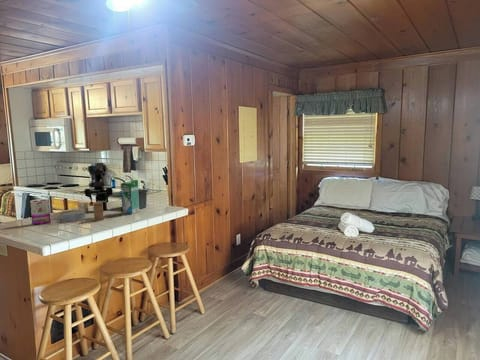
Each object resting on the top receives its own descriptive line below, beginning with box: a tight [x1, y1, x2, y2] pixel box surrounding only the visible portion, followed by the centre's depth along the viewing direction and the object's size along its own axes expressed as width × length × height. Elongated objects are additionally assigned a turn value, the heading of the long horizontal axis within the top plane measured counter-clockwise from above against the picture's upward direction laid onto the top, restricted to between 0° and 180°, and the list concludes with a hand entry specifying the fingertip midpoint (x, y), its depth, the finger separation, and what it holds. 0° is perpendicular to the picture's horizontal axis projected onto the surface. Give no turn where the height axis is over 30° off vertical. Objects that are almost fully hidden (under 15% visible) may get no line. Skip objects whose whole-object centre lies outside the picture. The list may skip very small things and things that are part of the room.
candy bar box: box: [29, 198, 52, 226], centre depth 240 cm, size 11×5×16 cm, turn 117°
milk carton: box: [120, 179, 140, 215], centre depth 269 cm, size 9×9×25 cm
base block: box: [60, 211, 87, 222], centre depth 252 cm, size 11×11×4 cm
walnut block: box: [93, 201, 105, 222], centre depth 247 cm, size 6×6×12 cm
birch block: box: [77, 201, 89, 214], centre depth 273 cm, size 5×5×8 cm
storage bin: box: [119, 188, 149, 210], centre depth 290 cm, size 21×16×14 cm
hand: (98, 201), depth 252 cm, fingers open, 9 cm apart
